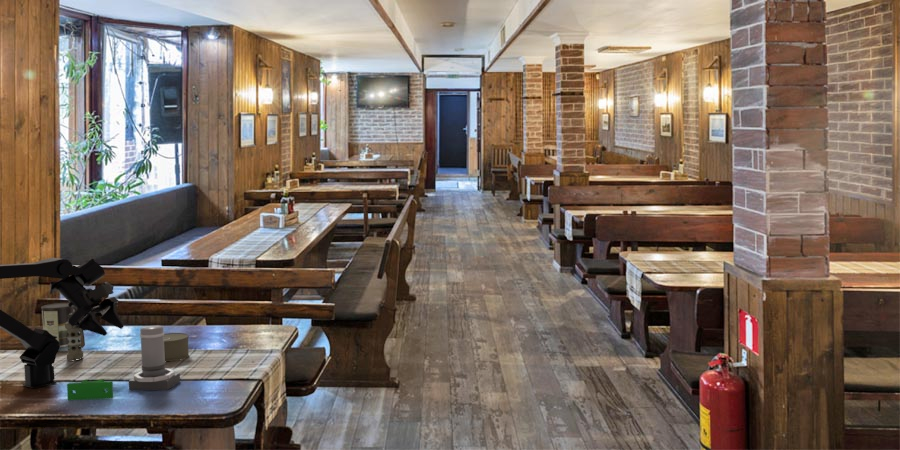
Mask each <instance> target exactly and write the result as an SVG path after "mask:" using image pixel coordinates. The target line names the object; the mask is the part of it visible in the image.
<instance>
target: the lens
mask: <svg viewBox="0 0 900 450" xmlns="http://www.w3.org/2000/svg"><path fill="white" fill-rule="evenodd" d="M164 330H165V329H164V326H163V325H149V326H144V327H141V328H140V334H139V337H140V351H141V352H140V354H141V371H142V375H143V377H158V376H163V375H165V368H166V362H165V353H164V334H165V331H164Z"/></svg>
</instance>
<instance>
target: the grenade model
mask: <svg viewBox="0 0 900 450" xmlns="http://www.w3.org/2000/svg"><path fill="white" fill-rule="evenodd" d="M71 314H72V313H71ZM71 314H69V315H68V317H70V316H71ZM65 328H66V329H67V340H68V346H67V353H66V360H68V361H69V360H76V359H80V358H82V357H83V358H84V352H83V351H82V349H84V347H85V345H86V342H85V341H86V340H85V339H86V338H85V333H84V332H85V331H86V330H85V329H81V328H77V327H76V326H75V327H72V326H71V325H70V324H69V323H68V322H66V323H65ZM68 334H69V335H68ZM83 358H82V359H83Z"/></svg>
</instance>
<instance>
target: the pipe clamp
mask: <svg viewBox="0 0 900 450" xmlns="http://www.w3.org/2000/svg"><path fill="white" fill-rule="evenodd" d="M113 383H114V382H113V381H112V380H109V381H108V380H107V381H105V379H104V378H101V379H98V380H93V381H91V380H90V381H89V380H87V379H83V380H82V381H81V382H69V383H67V384H66V389H67V400H68V401H79V400H80V401H81V400H82V401H83V400H100V399H105V400H106V399H113V397H114V386H113ZM106 390H107V391H106Z"/></svg>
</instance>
